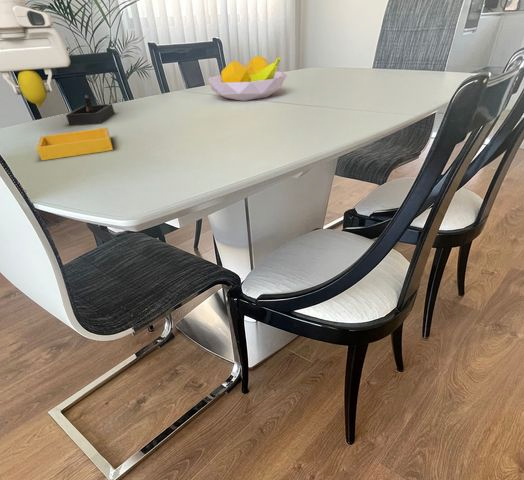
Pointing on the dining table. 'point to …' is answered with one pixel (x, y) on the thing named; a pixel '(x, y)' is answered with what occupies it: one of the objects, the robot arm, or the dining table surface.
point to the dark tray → (90, 115)
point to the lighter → (88, 105)
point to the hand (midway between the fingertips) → (35, 93)
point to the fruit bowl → (248, 80)
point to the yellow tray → (74, 144)
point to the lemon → (32, 86)
